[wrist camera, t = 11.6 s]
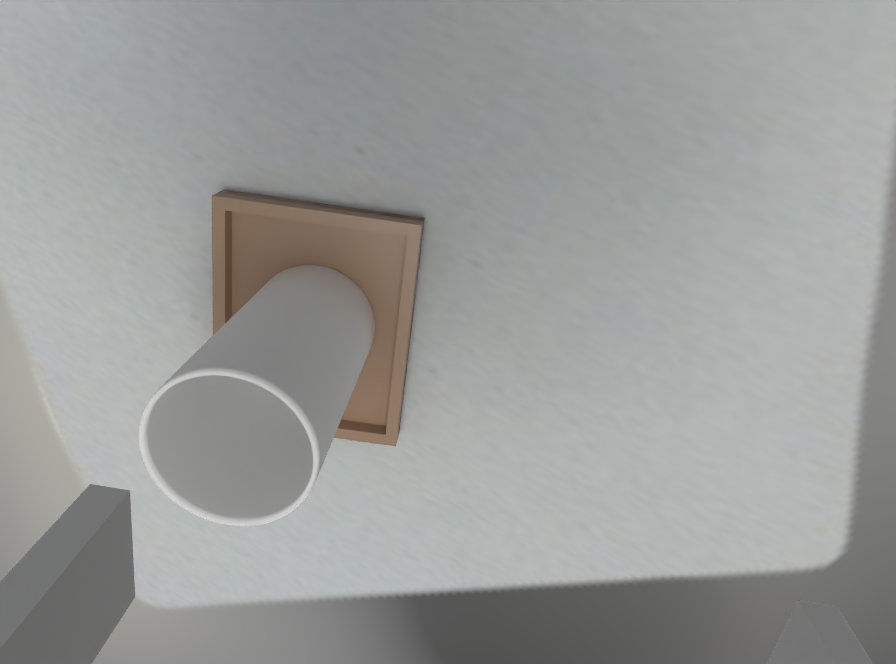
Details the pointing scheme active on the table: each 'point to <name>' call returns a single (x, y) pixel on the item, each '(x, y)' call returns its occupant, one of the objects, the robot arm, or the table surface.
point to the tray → (342, 249)
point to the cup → (260, 400)
